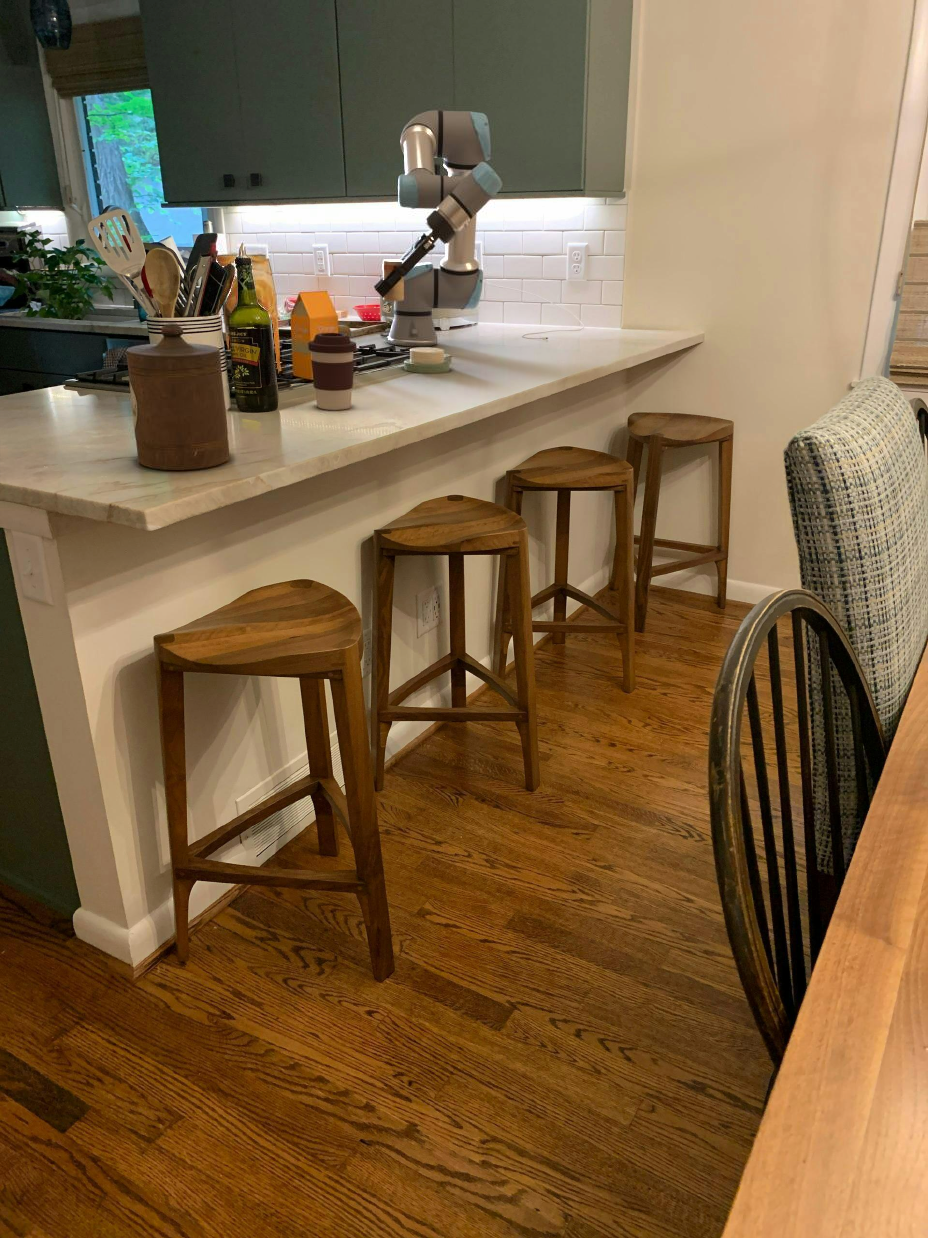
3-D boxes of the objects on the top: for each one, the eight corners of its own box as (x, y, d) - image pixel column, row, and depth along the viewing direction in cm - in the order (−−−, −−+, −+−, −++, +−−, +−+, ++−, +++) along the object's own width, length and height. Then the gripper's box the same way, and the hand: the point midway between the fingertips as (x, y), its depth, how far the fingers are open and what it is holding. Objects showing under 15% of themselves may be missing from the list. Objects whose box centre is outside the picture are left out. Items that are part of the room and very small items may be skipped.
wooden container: (170, 445, 166) (157, 316, 157) (245, 453, 162) (236, 321, 153) (119, 465, 153) (102, 325, 144) (199, 475, 149) (187, 332, 140)
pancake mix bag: (212, 377, 227) (203, 253, 216) (273, 368, 241) (267, 252, 229) (230, 380, 223) (221, 255, 212) (291, 371, 237) (285, 253, 225)
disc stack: (395, 367, 247) (395, 348, 245) (428, 363, 255) (428, 345, 253) (425, 374, 239) (425, 354, 237) (458, 370, 247) (459, 350, 245)
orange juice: (339, 376, 234) (337, 291, 226) (312, 379, 228) (309, 293, 220) (320, 371, 239) (317, 289, 230) (292, 375, 233) (288, 290, 224)
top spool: (378, 299, 228) (378, 259, 225) (394, 298, 232) (394, 259, 228) (392, 301, 225) (392, 261, 221) (408, 300, 228) (408, 260, 225)
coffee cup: (319, 413, 194) (317, 338, 187) (304, 404, 201) (301, 332, 195) (364, 410, 198) (363, 336, 192) (347, 401, 206) (345, 330, 200)
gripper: (462, 234, 216) (391, 307, 220) (452, 231, 232) (387, 299, 237) (440, 208, 213) (368, 283, 218) (431, 207, 229) (365, 277, 234)
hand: (378, 291), depth 227 cm, fingers closed on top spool, 5 cm apart
